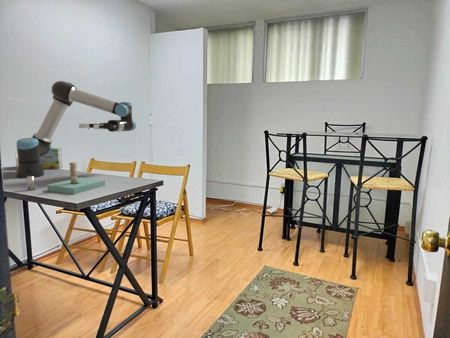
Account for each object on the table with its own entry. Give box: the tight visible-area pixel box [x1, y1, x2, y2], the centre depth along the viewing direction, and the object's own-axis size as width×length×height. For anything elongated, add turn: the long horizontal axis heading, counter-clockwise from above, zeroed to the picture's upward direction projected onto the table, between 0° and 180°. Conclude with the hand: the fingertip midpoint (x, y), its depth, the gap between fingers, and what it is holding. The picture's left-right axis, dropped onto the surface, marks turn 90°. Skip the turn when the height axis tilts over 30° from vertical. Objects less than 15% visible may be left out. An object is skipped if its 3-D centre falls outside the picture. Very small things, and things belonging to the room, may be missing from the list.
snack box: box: [40, 147, 63, 170], centre depth 227 cm, size 21×6×15 cm, turn 90°
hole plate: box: [46, 177, 106, 195], centre depth 171 cm, size 18×22×3 cm
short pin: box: [26, 176, 36, 191], centre depth 165 cm, size 3×3×7 cm
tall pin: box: [69, 162, 78, 185], centre depth 169 cm, size 3×3×14 cm
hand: (86, 126), depth 190 cm, fingers open, 13 cm apart
